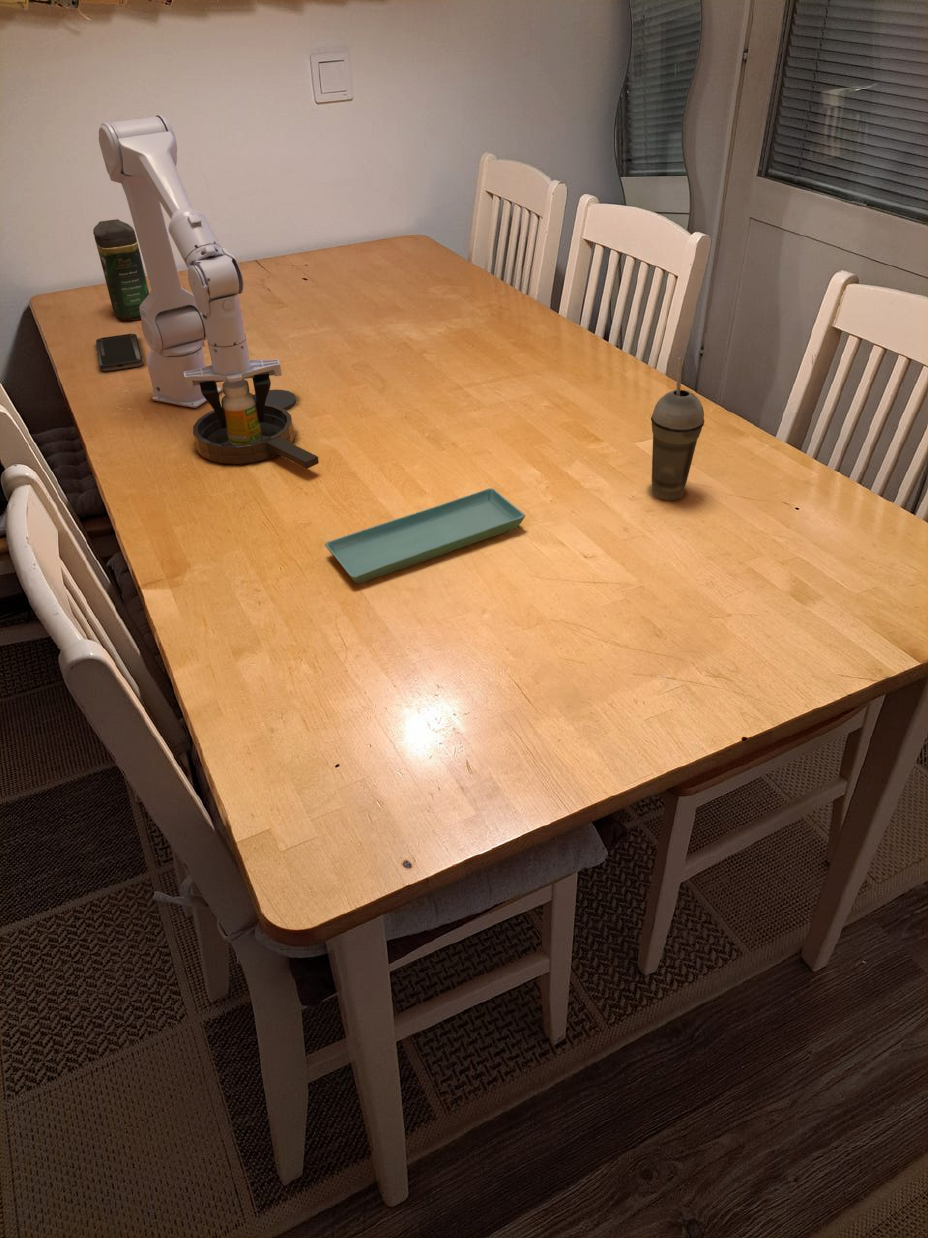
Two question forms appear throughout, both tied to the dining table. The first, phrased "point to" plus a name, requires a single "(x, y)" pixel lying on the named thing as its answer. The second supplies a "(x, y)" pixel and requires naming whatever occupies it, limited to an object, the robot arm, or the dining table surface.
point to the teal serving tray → (424, 535)
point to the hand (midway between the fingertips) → (242, 422)
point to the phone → (119, 352)
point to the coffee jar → (121, 267)
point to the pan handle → (292, 452)
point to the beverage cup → (674, 440)
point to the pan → (218, 448)
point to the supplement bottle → (240, 413)
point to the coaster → (280, 398)
